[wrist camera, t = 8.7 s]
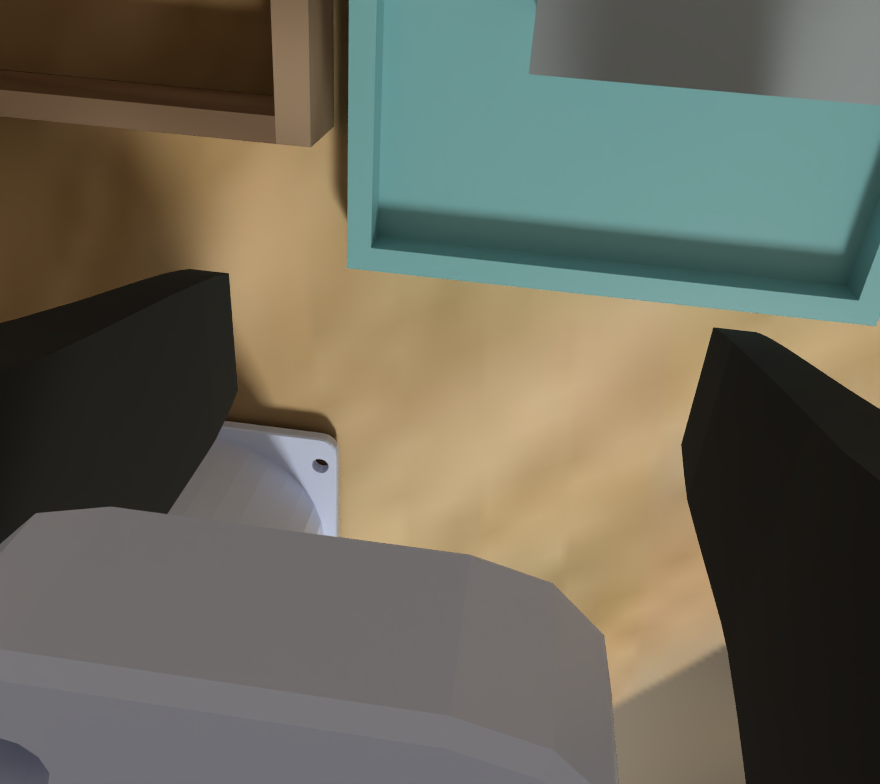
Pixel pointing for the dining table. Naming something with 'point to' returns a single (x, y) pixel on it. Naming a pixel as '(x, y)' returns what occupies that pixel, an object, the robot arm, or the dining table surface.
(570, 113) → the tray
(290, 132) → the rack
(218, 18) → the dining table surface
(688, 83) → the slate gray block
